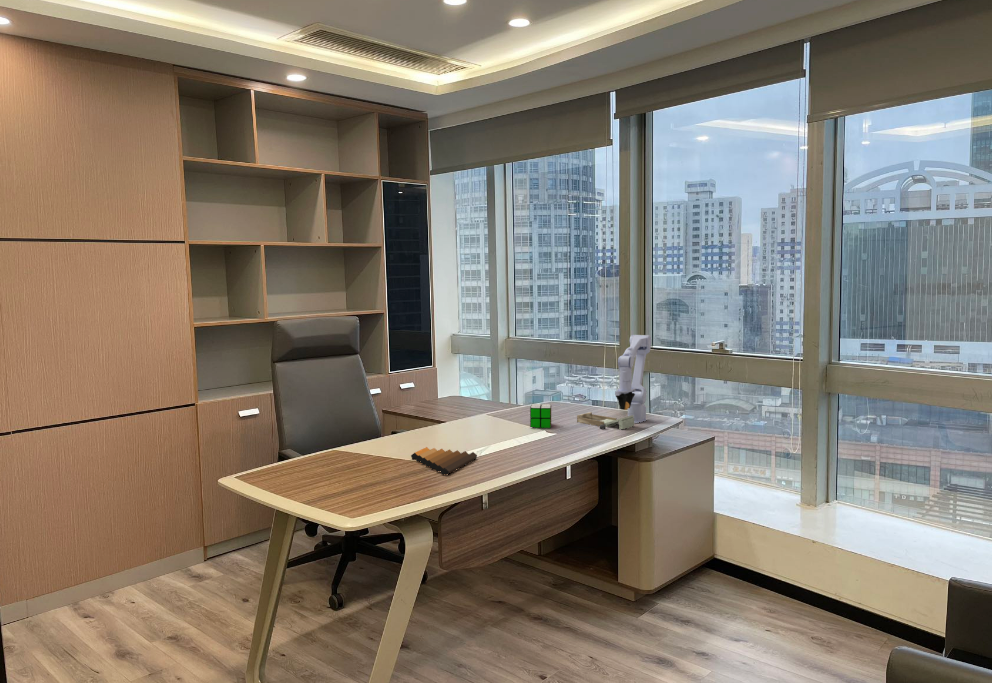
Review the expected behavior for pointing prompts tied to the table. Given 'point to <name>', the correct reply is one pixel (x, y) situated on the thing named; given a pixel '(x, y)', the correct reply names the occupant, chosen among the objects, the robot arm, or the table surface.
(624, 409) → the ball
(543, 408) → the puzzle cube
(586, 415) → the wooden tray
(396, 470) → the table surface
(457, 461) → the brown ridged panel
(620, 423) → the ramp
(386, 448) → the table surface
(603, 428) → the tee
